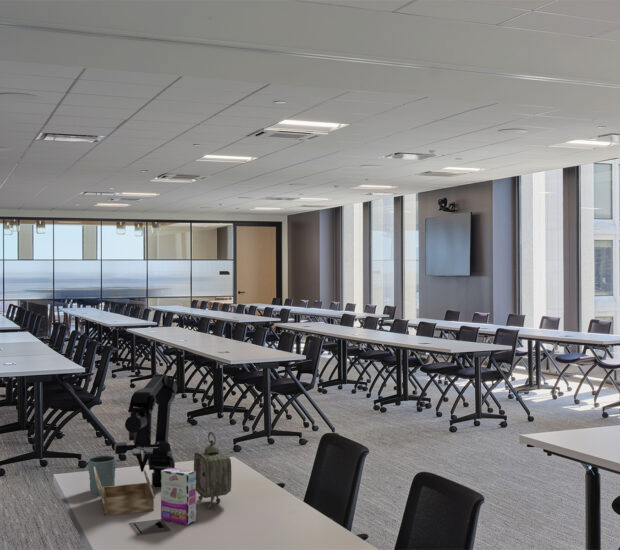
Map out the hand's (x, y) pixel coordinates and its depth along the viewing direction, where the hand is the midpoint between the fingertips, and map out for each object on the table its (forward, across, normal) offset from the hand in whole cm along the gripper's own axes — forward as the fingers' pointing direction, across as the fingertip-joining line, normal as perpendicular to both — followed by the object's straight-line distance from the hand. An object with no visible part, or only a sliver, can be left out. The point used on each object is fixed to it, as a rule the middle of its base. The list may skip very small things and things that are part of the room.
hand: (141, 471), depth 259 cm
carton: (+11, +5, 0) cm, 12 cm away
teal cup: (+11, +12, -19) cm, 25 cm away
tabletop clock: (+10, -24, +9) cm, 27 cm away
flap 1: (+3, +14, 0) cm, 15 cm away
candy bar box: (+11, -10, +23) cm, 27 cm away
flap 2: (+3, -2, 0) cm, 4 cm away
